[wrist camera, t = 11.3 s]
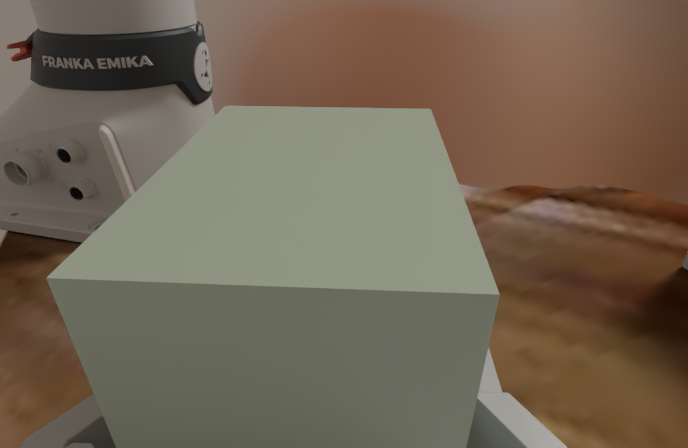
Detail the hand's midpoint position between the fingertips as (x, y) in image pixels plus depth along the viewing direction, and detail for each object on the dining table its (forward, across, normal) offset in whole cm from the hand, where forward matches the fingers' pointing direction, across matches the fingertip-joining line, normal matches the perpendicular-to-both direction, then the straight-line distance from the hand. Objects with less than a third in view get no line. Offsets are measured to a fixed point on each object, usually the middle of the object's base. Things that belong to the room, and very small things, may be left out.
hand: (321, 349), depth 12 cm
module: (-1, 0, +6) cm, 7 cm away
